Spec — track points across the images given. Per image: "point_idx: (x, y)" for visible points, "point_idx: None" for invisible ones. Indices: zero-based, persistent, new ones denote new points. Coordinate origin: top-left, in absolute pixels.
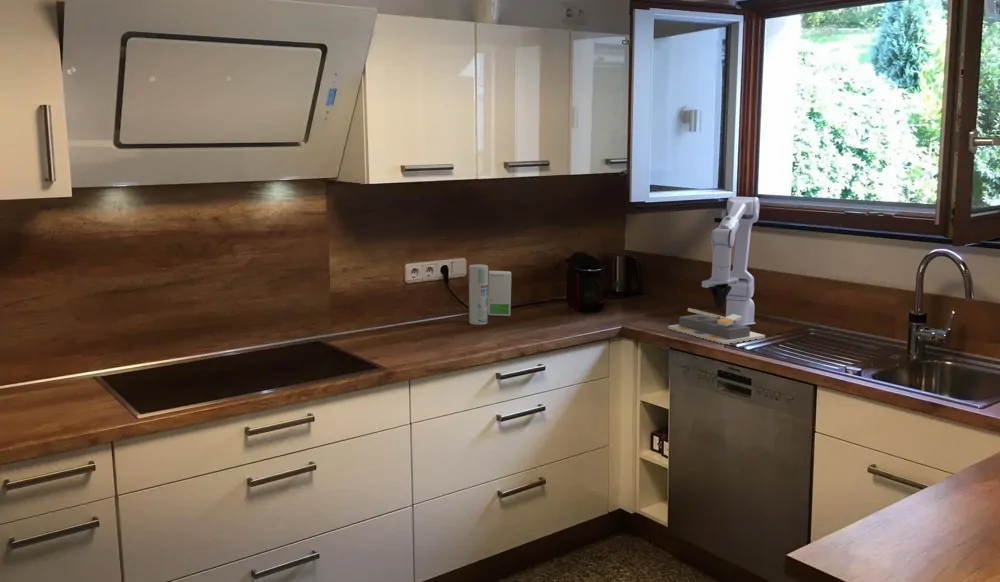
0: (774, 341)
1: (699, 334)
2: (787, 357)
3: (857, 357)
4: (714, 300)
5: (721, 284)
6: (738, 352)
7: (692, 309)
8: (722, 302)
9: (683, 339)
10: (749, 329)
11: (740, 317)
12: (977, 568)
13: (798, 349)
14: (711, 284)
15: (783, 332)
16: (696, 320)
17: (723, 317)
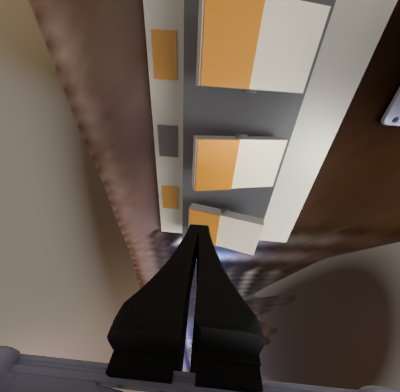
0: (270, 256)
1: (157, 155)
2: (190, 300)
3: (264, 330)
4: (180, 245)
5: (188, 388)
6: (147, 262)
7: (200, 42)
8: (194, 269)
9: (104, 142)
10: None
11: (246, 252)
12: None
13: (246, 292)
14: (64, 389)
15: (377, 230)
16: (197, 94)
17: (256, 185)
